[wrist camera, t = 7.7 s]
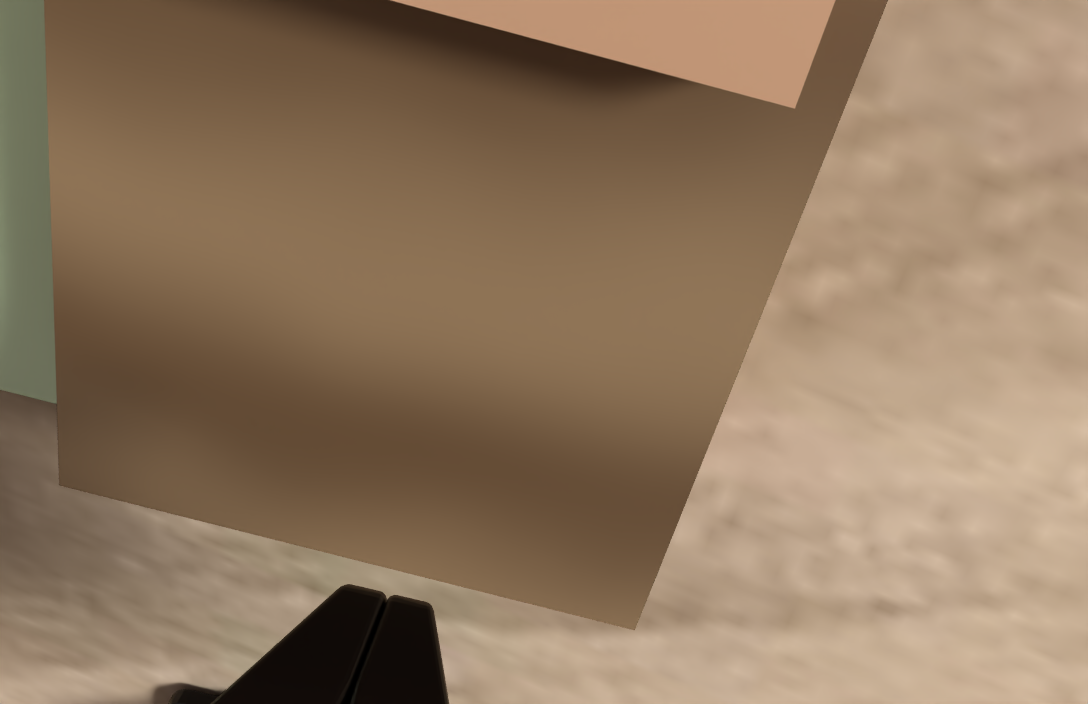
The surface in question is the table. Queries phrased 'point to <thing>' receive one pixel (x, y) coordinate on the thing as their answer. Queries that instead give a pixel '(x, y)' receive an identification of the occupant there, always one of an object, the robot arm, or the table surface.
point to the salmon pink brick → (673, 36)
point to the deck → (411, 280)
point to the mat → (25, 206)
